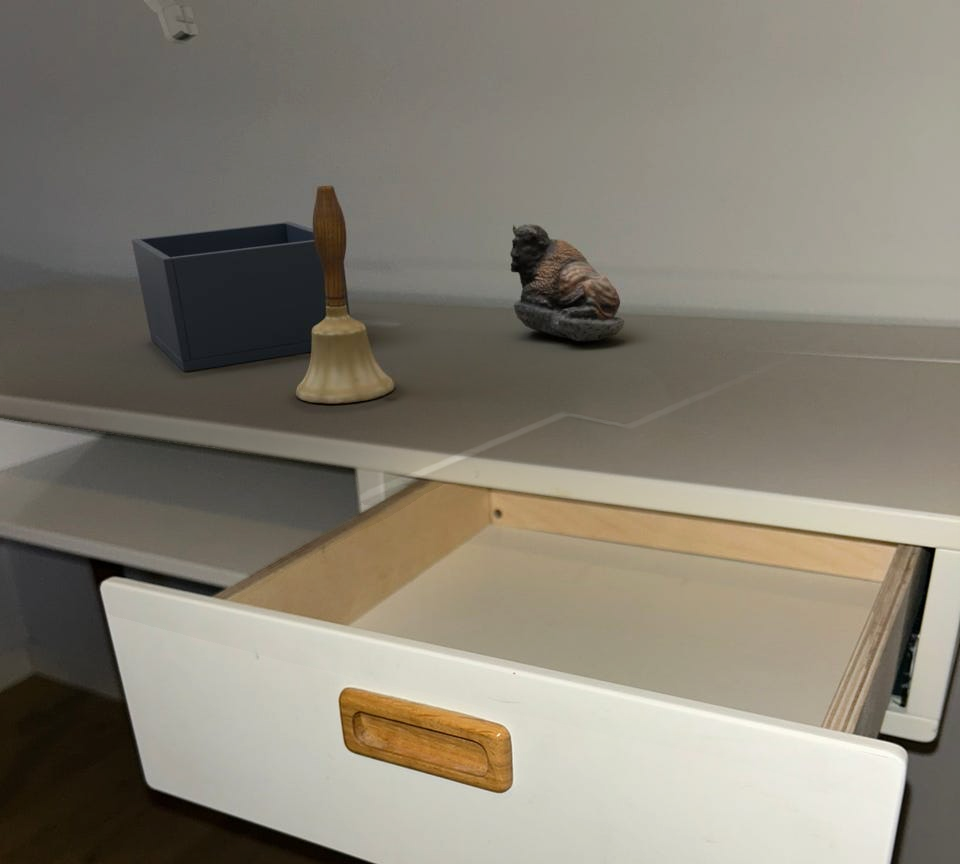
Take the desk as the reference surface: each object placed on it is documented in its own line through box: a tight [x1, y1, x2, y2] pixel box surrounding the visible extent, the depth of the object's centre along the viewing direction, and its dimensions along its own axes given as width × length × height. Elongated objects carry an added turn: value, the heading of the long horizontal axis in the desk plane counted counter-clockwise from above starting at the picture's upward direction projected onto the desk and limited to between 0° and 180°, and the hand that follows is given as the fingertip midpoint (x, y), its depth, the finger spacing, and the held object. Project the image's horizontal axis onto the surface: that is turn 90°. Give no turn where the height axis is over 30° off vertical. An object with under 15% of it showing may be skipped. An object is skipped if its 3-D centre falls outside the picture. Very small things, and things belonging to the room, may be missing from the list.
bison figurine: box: [509, 223, 625, 343], centre depth 100 cm, size 12×7×10 cm, turn 47°
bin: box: [131, 221, 351, 373], centre depth 106 cm, size 17×17×10 cm
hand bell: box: [295, 185, 396, 405], centre depth 86 cm, size 8×8×16 cm
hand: (235, 8), depth 67 cm, fingers open, 8 cm apart
